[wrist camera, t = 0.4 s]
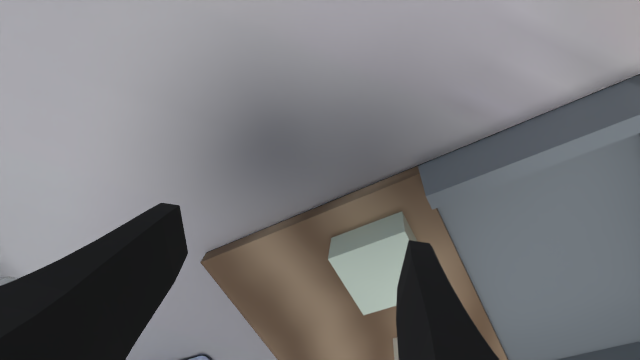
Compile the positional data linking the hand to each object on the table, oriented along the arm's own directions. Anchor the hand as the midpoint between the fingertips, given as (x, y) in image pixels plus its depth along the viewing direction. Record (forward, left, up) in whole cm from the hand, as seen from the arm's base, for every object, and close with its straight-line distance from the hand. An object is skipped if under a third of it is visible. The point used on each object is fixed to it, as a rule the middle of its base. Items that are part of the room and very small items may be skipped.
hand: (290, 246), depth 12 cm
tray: (+9, -13, -10) cm, 19 cm away
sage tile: (0, -8, -9) cm, 12 cm away
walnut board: (-4, -13, -10) cm, 17 cm away
